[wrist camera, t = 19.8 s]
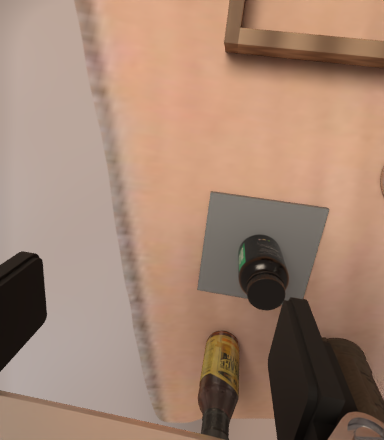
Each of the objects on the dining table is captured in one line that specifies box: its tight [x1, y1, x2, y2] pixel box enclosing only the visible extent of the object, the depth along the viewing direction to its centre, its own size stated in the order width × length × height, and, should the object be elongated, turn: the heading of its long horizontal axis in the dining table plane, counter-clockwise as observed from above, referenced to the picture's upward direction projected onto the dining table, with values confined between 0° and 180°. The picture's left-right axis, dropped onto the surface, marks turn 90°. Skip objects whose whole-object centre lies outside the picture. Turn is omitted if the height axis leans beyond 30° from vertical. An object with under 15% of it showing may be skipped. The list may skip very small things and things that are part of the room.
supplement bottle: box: [238, 234, 289, 310], centre depth 43 cm, size 7×7×12 cm
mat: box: [197, 191, 329, 304], centre depth 49 cm, size 18×18×1 cm
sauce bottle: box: [198, 331, 239, 440], centre depth 47 cm, size 6×6×20 cm
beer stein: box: [322, 338, 384, 423], centre depth 45 cm, size 15×11×20 cm
